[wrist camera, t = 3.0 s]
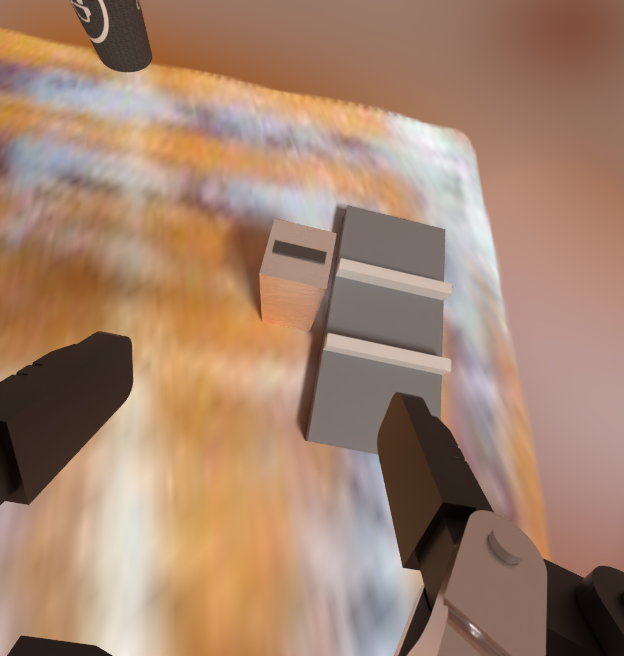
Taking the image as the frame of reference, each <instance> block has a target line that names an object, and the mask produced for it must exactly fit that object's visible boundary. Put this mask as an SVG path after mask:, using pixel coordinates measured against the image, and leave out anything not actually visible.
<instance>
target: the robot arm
mask: <svg viewBox="0 0 624 656" xmlns="http://www.w3.org/2000/svg"><path fill="white" fill-rule="evenodd" d="M132 386H133V363H132V343H131V340H130V338H129V337H126V336H121V335H116V334H112V333H107V332H102V331H99V332H96V333H94V334H92V335H91V336H89V337H88V338H86V339H84V340H83V341H81V342H80V343H78V344H73V345H70V346H67V347H64V348H61V349H58V350H55V351H52V352H50V353H48V354H46V355H45V356H43V357H41V358H40V359H38V360H36V361H35V362H33V364H32V365H28V366H26V367H24V368H23V369H21V370H19V371H18V372H17V374H16V375H11V376H9V377H8V378H6V379H4V380H3V381H1V382H0V505H1V504H2V503H3V502H4V501H9V502H15V503H21V504H27V505H29V504H30V503H31V502H32V501H33V500H34V499H35V498H36V497H37V496H38V494H39V493H40V492H41V491H42V490H43V489H44V488H45V487H46V486H47V485H48V484H49V483H50V482H51V481H52V479H53V478H54V477H55V476H56V475H57V474H58V473H59V472H60V471H61V470H62V469H63V468H64V467H65V466H66V464H67V463H68V462H69V461H70V460H71V459H72V458H73V457H74V456H75V455H76V454H77V453H78V452H79V451H80V449H81V448H82V447H83V446H84V445H85V444H86V443H87V442H88V441H89V440H90V439H91V438H92V437H93V435H94V434H95V433H96V432H97V431H98V430H99V429H100V428H101V427H102V426H103V425H104V424H105V423H106V422H107V420H108V419H109V418H110V417H111V416H112V415H113V414H114V413H115V412H116V411H117V410H118V409H119V408H120V407H121V405H122V404H123V403H124V402H125V401H126V400H127V398H128V396H129V394H130V392H131V389H132ZM377 450H378V455H379V460H380V464H381V469H382V474H383V478H384V483H385V487H386V492H387V497H388V501H389V506H390V511H391V515H392V520H393V524H394V529H395V534H396V538H397V543H398V548H399V552H400V557H401V561H402V566H403V568H408V569H414V570H420V571H421V574H422V578H423V582H424V584H423V585H422V587H421V588H420V590H419V593H418V595H417V598H416V600H415V603H414V605H413V608H412V611H411V613H410V616H409V618H408V621H407V623H406V626H405V628H404V631H403V634H402V636H401V639H400V641H399V644H398V646H397V649H396V652H395V654H394V656H624V572H622V571H620V570H617V569H615V568H612V567H607V566H599V567H597V568H595V569H594V570H593V571H592V572H591V573H590V574H589V575H587V576H586V577H585V578H583V577H581V576H579V575H577V574H575V573H573V572H570V571H568V570H566V569H564V568H562V567H560V566H558V565H556V564H554V563H552V562H550V561H548V560H545V559H543V558H542V556H541V554H540V552H539V551H538V549H537V548H536V546H535V545H534V543H533V542H532V541H531V540H530V539H529V537H528V536H527V535H526V534H525V533H524V532H523V531H522V530H521V529H519V528H518V527H517V526H516V525H515V524H513V523H512V522H511V521H509V520H508V519H506V518H504V517H503V516H501V515H499V514H496V513H494V512H493V510H492V508H491V506H490V504H489V502H488V500H487V499H486V497H485V495H484V493H483V491H482V489H481V487H480V485H479V484H478V482H477V480H476V478H475V476H474V474H473V472H472V471H471V469H470V467H469V465H468V463H467V462H466V461H465V458H464V456H463V454H462V452H461V450H460V448H458V445H457V443H456V441H455V439H454V437H453V435H452V433H451V431H450V430H449V429H448V428H447V427H446V426H445V425H444V424H443V423H442V422H441V421H440V420H439V419H438V417H436V416H432V415H431V413H430V411H429V409H428V407H427V405H426V403H425V401H424V399H423V398H422V397H420V396H415V395H411V394H406V393H401V392H396V393H395V394H394V395H393V397H392V399H391V402H390V404H389V406H388V409H387V411H386V414H385V416H384V419H383V421H382V424H381V426H380V429H379V432H378V437H377ZM7 656H112V655H110V654H109V653H107V652H106V651H104V650H102V649H101V648H99V647H97V646H95V645H87V644H80V643H73V642H65V641H58V640H51V639H43V638H36V637H28V636H20V638H19V639H18V641H17V642H16V643H15V645H14V646H13V648H12V649H11V651H10V652H9V654H8V655H7Z"/></svg>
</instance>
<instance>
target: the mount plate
mask: <svg viewBox="0 0 624 656" xmlns="http://www.w3.org/2000/svg"><path fill="white" fill-rule="evenodd" d="M444 259H445V229H441V228H437V227H433V226H429V225H425V224H421V223H417V222H413V221H409V220H405V219H401V218H397V217H393V216H389V215H385V214H381V213H377V212H372V211H368V210H364V209H360V208H356V207H352V206H347V209H346V212H345V214H344V218H343V223H342V229H341V235H340V241H339V247H338V252H337V258H336V264H335V270H334V276H333V281H332V287H331V293H330V299H329V305H328V310H327V316H326V322H325V328H324V334H323V339H322V345H321V351H320V357H319V363H318V368H317V374H316V380H315V386H314V392H313V397H312V403H311V409H310V415H309V421H308V426H307V432H306V438H305V440H306V441H311V442H316V443H321V444H327V445H332V446H337V447H343V448H348V449H353V450H359V451H364V452H369V453H375V454H378V450H377V437H378V432H379V429H380V426H381V424H382V421H383V419H384V416H385V414H386V411H387V409H388V406H389V404H390V402H391V399H392V397H393V395H394V394H395V393H396V392H401V393H406V394H411V395H415V396H420V397H422V398H423V399H424V401H425V403H426V405H427V407H428V409H429V411H430V413H431V415H432V416H436V417H438V419H439V420H440V421H441V382H442V374H445V373H448V372H451V359H447V358H443V357H442V341H443V301H444V300H445V299H446V298H448V297H449V296H450V295H452V284H450V283H446V282H444Z"/></svg>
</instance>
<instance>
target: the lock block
mask: <svg viewBox="0 0 624 656" xmlns="http://www.w3.org/2000/svg"><path fill="white" fill-rule="evenodd" d="M336 235H337V233H333V232H329V231H325V230H320V229H316V228H312V227H308V226H304V225H300V224H295V223H291V222H287V221H283V220H279V219H275V218H274V222H273V225H272V229H271V233H270V236H269V240H268V244H267V247H266V251H265V255H264V258H263V262H262V266H261V269H260V273H259V278H260V296H261V314H262V322H266V323H270V324H275V325H280V326H284V327H289V328H294V329H298V330H303V331H308V332H309V331H310V329H311V326H312V324H313V321H314V319H315V317H316V314H317V312H318V309H319V307H320V304H321V302H322V299H323V297H324V295H325V292H326V290H327V285H328V279H329V274H330V268H331V263H332V257H333V251H334V246H335V240H336Z"/></svg>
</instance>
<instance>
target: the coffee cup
mask: <svg viewBox="0 0 624 656" xmlns="http://www.w3.org/2000/svg"><path fill="white" fill-rule="evenodd" d="M70 2H71V4H72V6H73V8H74V10H75V12H76V14H77V15H78V17H79V19H80V21H81V23H82V25H83V27H84V29H85V30H86V32H87V34H88V36H89V38H90V40H91V42H92V44H93V46H94V48H95V49H96V51H97V53H98V55H99V57H100V59H101V61H102V62H103V63H104V64H105V65H106V66H107V67H109V68H111V69H113V70H116V71H121V72H134V71H138V70H141V69H143V68H145V67H147V66H148V65H149V64H150V62H151V60H152V53H151V49H150V44H149V40H148V36H147V32H146V27H145V23H144V19H143V14H142V10H141V6H140V2H139V0H70Z"/></svg>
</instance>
